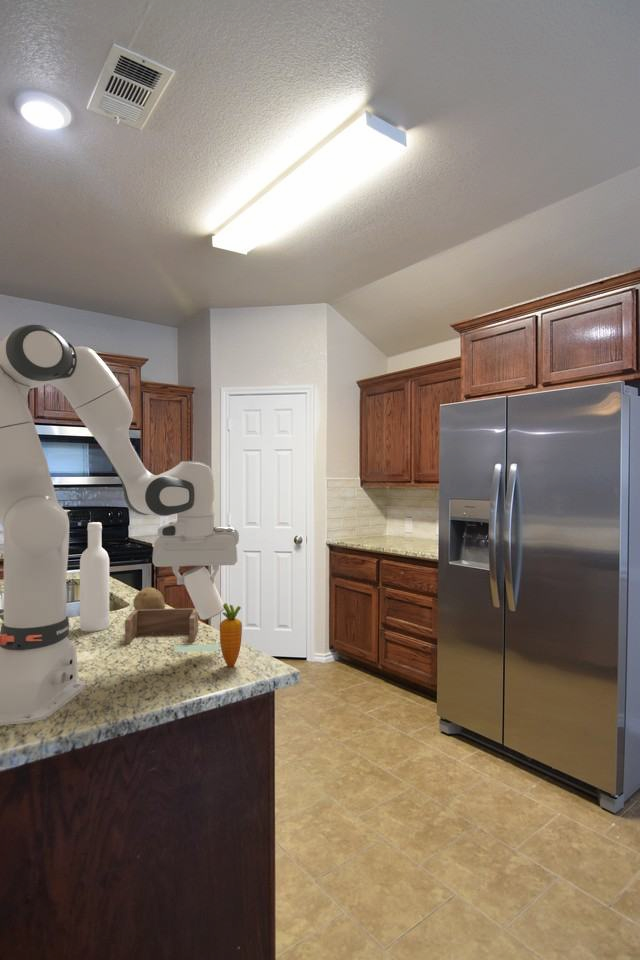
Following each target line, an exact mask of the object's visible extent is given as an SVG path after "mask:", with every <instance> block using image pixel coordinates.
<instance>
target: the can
mask: <svg viewBox="0 0 640 960" xmlns="http://www.w3.org/2000/svg"><path fill="white" fill-rule="evenodd" d="M182 576H183V577H184V584H183V585H184V586H185V588H186V591H187V593H188V594H189V598H190V600H191V601H192V604H193V606H194V608H196V610H197V613H198V618H200V619H201V620H203V621H207V620H209V619H212V618H214V617H216V616H218V615H219V614H220V613H223V611H225V609H224V607H223V605H224V602H223V599H222V598H221V595H220V593H219V591H218V589H217V586H216V584H215V583H214V584H213V583H212V581H211V579H210V577H211V576H212V574H211V573H210V571H209V569H207V567H206V566H195V567H194V568H192V569H189V570H188V571H186V572H184V573H182Z"/></svg>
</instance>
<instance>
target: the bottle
mask: <svg viewBox="0 0 640 960" xmlns="http://www.w3.org/2000/svg"><path fill="white" fill-rule="evenodd" d="M102 525H103V524H102V522H99V521H97V522H95V521H92V522H88V523H87V528H86V530H87V548H86V549H85V550H84V551H83V552H82V553H81V555H80V559H79V630H81V631H82V632H85V633H86V632H87V633H89V632H99V631H104V630H106V629H108V628H109V627H110V622H111V621H110V620H111V616H110V557H109V554H108V552H107V551H108V550H107V551H106V550H105V548H103V547H102V545H103V544H102V542H103V541H102V540H103V539H102V538H103V537H102V533H103V532H102V531H103V526H102Z"/></svg>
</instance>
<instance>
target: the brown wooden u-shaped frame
mask: <svg viewBox="0 0 640 960" xmlns="http://www.w3.org/2000/svg"><path fill="white" fill-rule="evenodd" d="M185 633H186V634H189V643H195V641H196V638H197V635H198V633H199V615H198V613H197V610H196V608H195V607H194V608H193V607H191V608H189V607H188V608H186V607H185V608H165V609H143V610H135V609H133V610H132V611H131V612H130V614H129V615H128V616H127V617H126V619H125V620H124V644H125V645H130V644H132V642H133V641H134V640H135V638H136V637H137V636H138V635H151V634H152V635H153V634H157V635H158V634H185Z"/></svg>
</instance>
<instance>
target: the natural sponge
mask: <svg viewBox="0 0 640 960" xmlns="http://www.w3.org/2000/svg"><path fill="white" fill-rule="evenodd" d="M132 603H133V608H134V610H143V609H166V603H165V599H164V595H163V594H162V592H161V591H159V590H158V589H156V588H154V587H149V586H148V587H144V588H142V589H141V590H139V591H138V593H137V594H136V595H135V597H134V598H133V602H132Z"/></svg>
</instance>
